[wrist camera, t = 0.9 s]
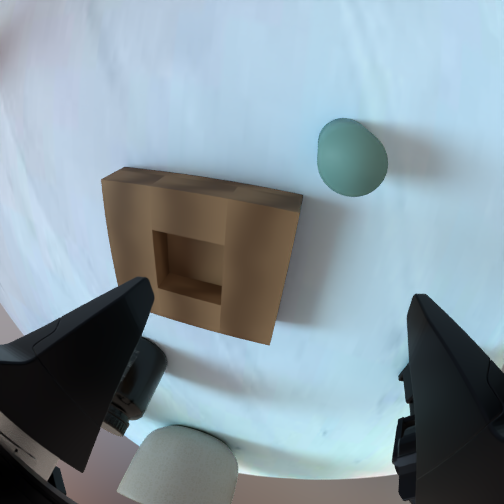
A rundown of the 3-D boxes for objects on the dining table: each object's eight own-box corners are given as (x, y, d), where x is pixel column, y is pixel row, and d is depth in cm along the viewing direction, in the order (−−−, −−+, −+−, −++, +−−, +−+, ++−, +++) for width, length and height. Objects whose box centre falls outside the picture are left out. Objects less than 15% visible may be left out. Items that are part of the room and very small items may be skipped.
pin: (375, 125, 15) (395, 138, 11) (364, 175, 17) (377, 203, 13) (322, 112, 16) (324, 120, 12) (313, 163, 18) (311, 188, 14)
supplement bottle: (120, 348, 36) (78, 414, 26) (127, 324, 32) (76, 401, 22) (162, 374, 36) (126, 444, 26) (175, 354, 32) (133, 437, 23)
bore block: (303, 194, 19) (299, 212, 16) (275, 320, 26) (269, 345, 23) (124, 167, 21) (101, 179, 18) (137, 283, 27) (122, 302, 25)
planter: (265, 446, 44) (241, 534, 28) (225, 461, 56) (204, 525, 40) (159, 402, 43) (117, 492, 27) (146, 427, 54) (115, 491, 39)
